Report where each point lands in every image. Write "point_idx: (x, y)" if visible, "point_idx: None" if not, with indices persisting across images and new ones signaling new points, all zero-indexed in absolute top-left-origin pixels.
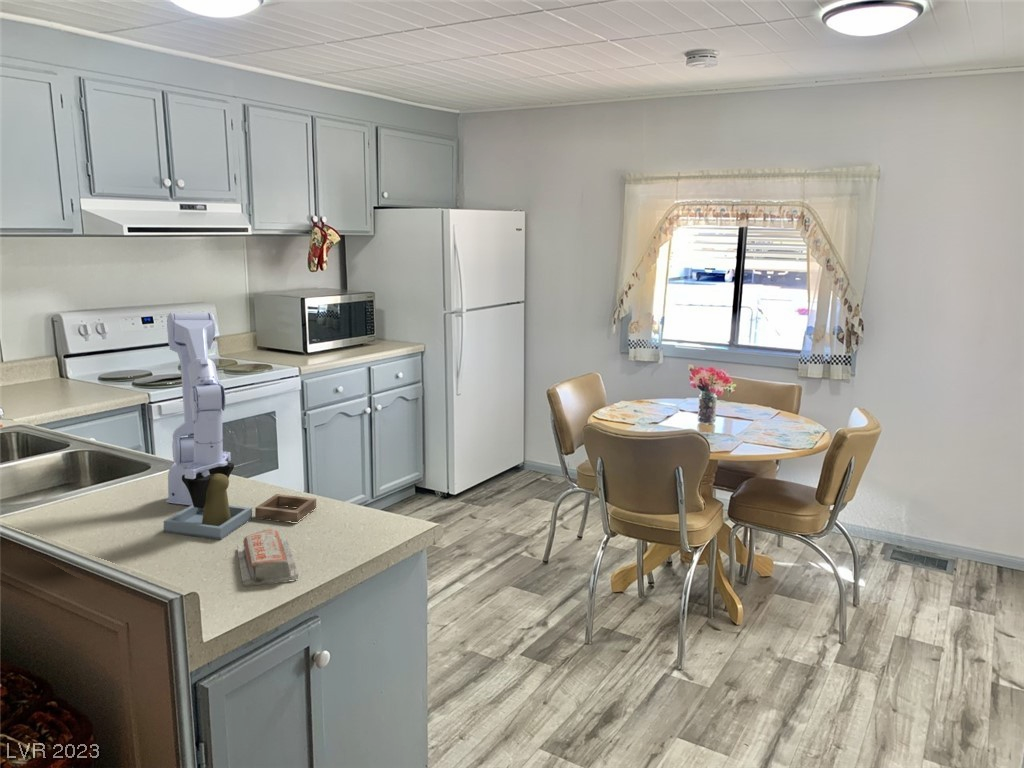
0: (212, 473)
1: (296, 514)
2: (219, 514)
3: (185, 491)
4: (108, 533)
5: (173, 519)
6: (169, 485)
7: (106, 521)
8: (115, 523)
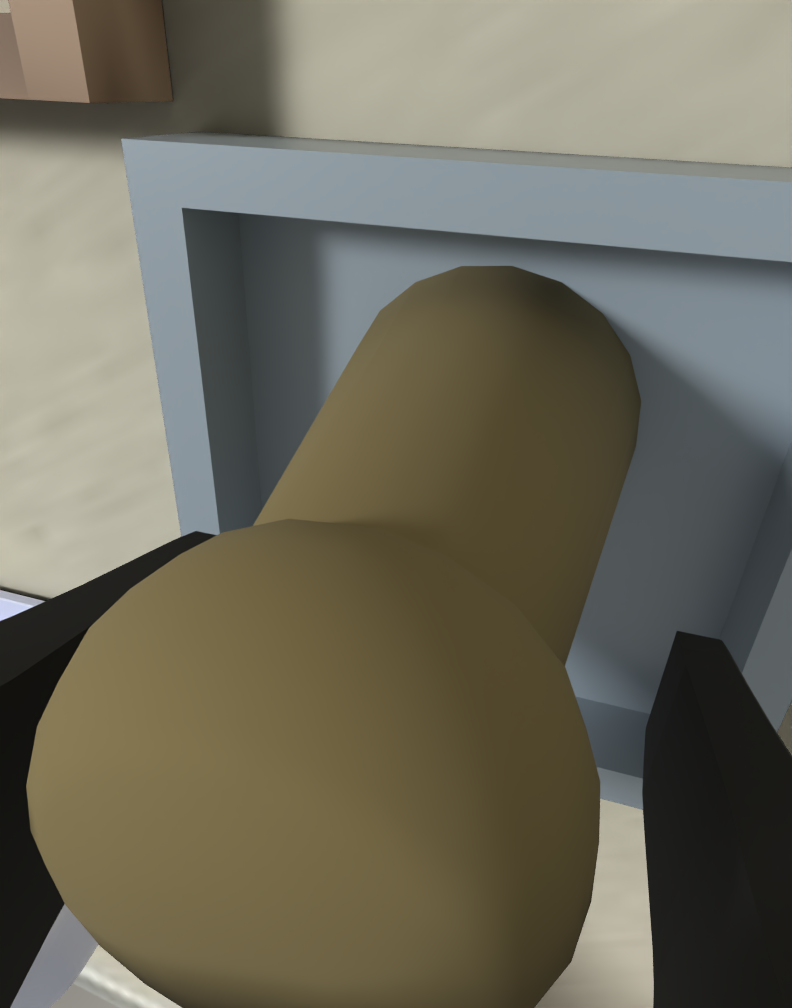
0: (30, 911)
1: None
2: (587, 401)
3: None
4: None
5: None
6: None
7: (562, 1004)
8: (585, 973)
